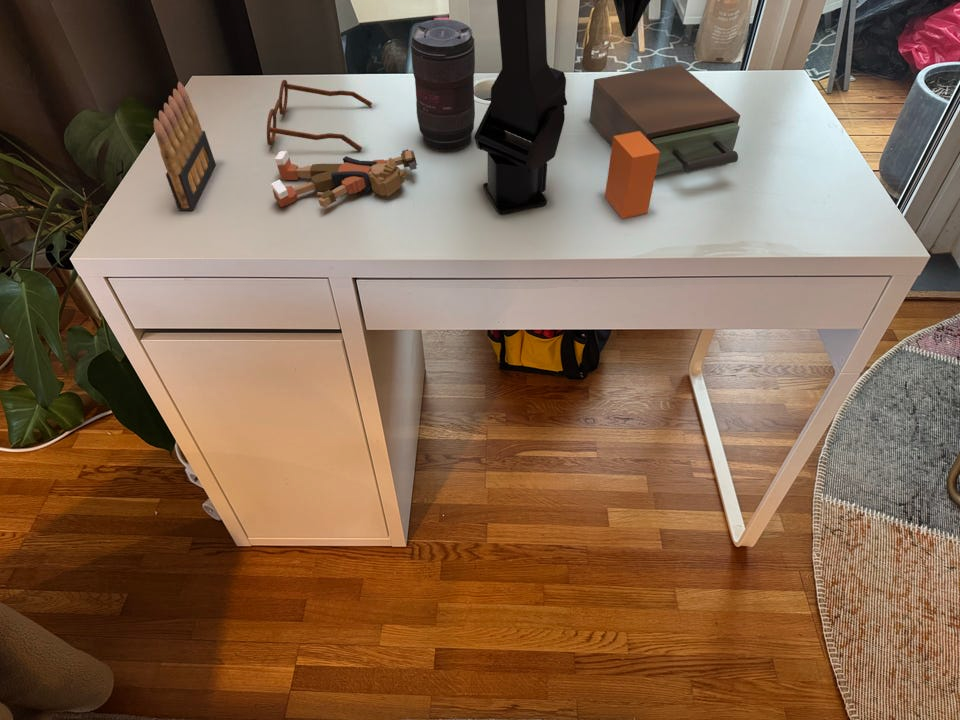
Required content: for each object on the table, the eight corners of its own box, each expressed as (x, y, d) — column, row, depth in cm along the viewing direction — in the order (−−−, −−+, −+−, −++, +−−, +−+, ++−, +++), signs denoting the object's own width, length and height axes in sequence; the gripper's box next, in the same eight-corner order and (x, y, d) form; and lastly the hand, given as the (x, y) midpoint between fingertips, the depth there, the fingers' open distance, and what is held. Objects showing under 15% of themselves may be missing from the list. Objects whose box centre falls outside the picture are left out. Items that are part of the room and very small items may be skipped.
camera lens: (417, 156, 96) (408, 46, 85) (419, 125, 102) (410, 18, 91) (476, 154, 97) (475, 44, 85) (475, 124, 102) (473, 17, 91)
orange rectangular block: (647, 213, 87) (660, 151, 81) (622, 219, 86) (632, 157, 80) (629, 191, 90) (639, 130, 84) (604, 196, 90) (613, 135, 83)
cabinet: (728, 159, 95) (740, 115, 90) (639, 178, 92) (647, 133, 88) (671, 106, 105) (679, 63, 100) (589, 121, 102) (594, 79, 97)
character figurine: (286, 137, 94) (417, 131, 90) (298, 169, 97) (424, 165, 94) (255, 188, 86) (397, 184, 83) (268, 222, 89) (405, 219, 86)
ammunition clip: (202, 164, 96) (173, 78, 87) (216, 164, 96) (188, 78, 87) (178, 211, 88) (144, 122, 80) (193, 211, 88) (160, 122, 79)
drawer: (749, 176, 91) (759, 143, 87) (665, 194, 88) (672, 161, 85) (676, 108, 103) (682, 77, 99) (600, 123, 100) (604, 91, 97)
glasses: (286, 106, 106) (278, 74, 102) (372, 105, 106) (368, 73, 102) (268, 153, 97) (259, 120, 93) (362, 153, 97) (357, 119, 93)
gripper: (603, -72, 74) (588, 74, 85) (757, -91, 78) (722, 50, 89) (560, -101, 81) (552, 37, 92) (703, -118, 85) (677, 16, 96)
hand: (626, 35), depth 93 cm, fingers closed
